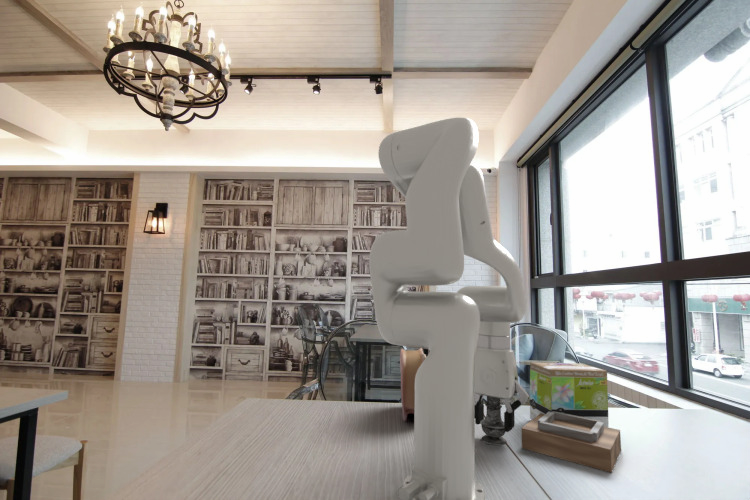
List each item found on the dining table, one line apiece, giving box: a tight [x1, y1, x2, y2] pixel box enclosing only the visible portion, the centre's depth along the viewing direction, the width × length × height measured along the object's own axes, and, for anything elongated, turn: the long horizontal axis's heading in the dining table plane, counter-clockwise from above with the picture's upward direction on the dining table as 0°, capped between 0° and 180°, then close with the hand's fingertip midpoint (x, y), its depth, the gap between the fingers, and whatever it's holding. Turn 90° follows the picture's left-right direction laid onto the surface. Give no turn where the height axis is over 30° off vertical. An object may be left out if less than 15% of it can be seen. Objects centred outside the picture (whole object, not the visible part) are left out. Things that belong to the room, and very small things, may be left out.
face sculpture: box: [399, 348, 427, 423], centre depth 99 cm, size 20×7×17 cm, turn 179°
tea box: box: [529, 361, 609, 428], centre depth 94 cm, size 15×10×15 cm, turn 97°
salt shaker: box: [479, 396, 507, 446], centre depth 82 cm, size 6×6×12 cm
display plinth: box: [521, 411, 622, 474], centre depth 78 cm, size 14×16×6 cm
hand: (493, 425), depth 82 cm, fingers closed on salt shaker, 5 cm apart
